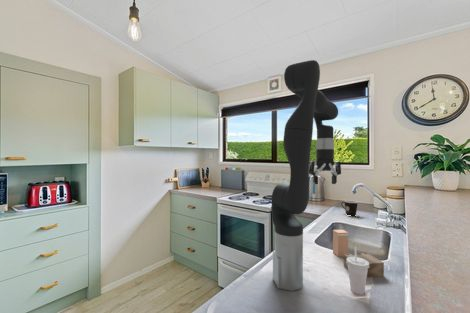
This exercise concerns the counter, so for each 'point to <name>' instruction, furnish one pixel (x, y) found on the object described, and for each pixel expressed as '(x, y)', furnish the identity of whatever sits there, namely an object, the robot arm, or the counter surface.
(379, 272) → the brown rectangular box
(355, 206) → the coffee mug
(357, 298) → the counter surface
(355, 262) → the smoothie
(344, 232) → the tan rectangular box
